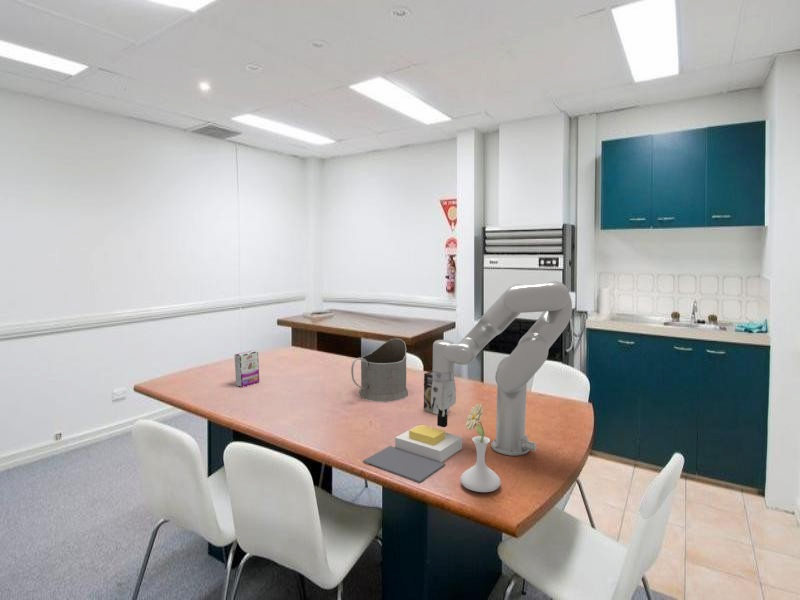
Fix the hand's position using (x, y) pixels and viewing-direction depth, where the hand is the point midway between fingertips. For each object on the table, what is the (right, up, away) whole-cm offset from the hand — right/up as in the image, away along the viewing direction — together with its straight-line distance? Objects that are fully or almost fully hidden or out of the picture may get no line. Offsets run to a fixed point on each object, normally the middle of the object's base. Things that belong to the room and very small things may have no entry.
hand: (442, 425), depth 162 cm
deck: (-5, -6, -7) cm, 10 cm away
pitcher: (-25, 0, +51) cm, 57 cm away
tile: (-6, -2, -8) cm, 10 cm away
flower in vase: (+8, -9, -33) cm, 35 cm away
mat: (-14, -7, -18) cm, 24 cm away
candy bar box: (-92, +2, +70) cm, 116 cm away
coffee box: (0, -2, +30) cm, 30 cm away
